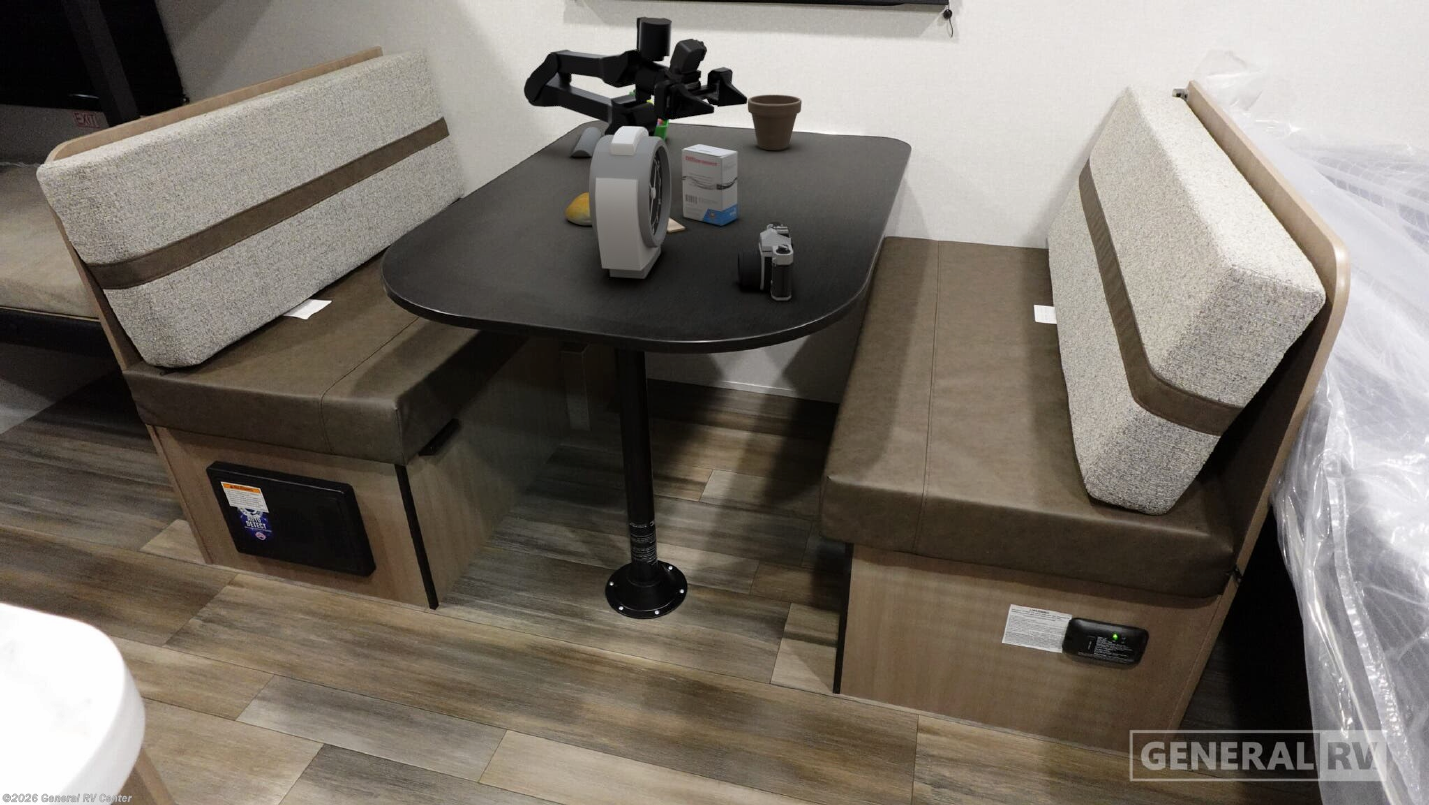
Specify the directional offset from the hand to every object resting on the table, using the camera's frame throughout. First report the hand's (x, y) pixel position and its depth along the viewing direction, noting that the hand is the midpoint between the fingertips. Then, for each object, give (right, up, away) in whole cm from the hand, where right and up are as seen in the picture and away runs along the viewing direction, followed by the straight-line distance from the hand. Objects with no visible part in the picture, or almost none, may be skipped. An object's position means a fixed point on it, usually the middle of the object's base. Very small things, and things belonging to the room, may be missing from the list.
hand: (730, 105), depth 154 cm
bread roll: (-24, -20, -1) cm, 31 cm away
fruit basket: (-17, +5, +41) cm, 45 cm away
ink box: (-4, -20, -2) cm, 21 cm away
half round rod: (-31, +4, +39) cm, 50 cm away
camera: (+4, -35, -26) cm, 44 cm away
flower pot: (+10, +4, +38) cm, 39 cm away
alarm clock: (-15, -31, -20) cm, 39 cm away
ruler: (-13, -20, -1) cm, 24 cm away
